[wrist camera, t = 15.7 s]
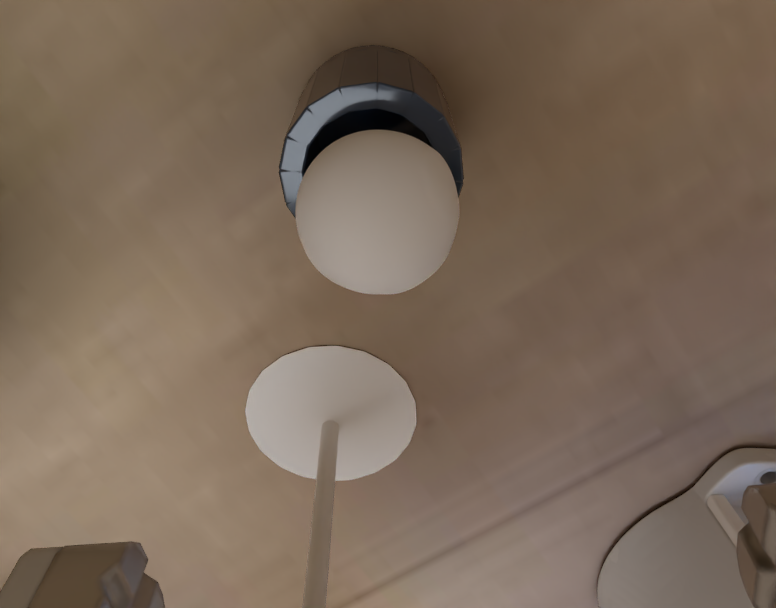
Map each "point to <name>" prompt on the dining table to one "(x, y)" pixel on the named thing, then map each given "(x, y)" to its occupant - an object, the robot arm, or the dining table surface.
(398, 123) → the egg cup
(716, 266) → the dining table surface
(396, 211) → the white ball
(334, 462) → the wineglass
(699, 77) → the dining table surface
